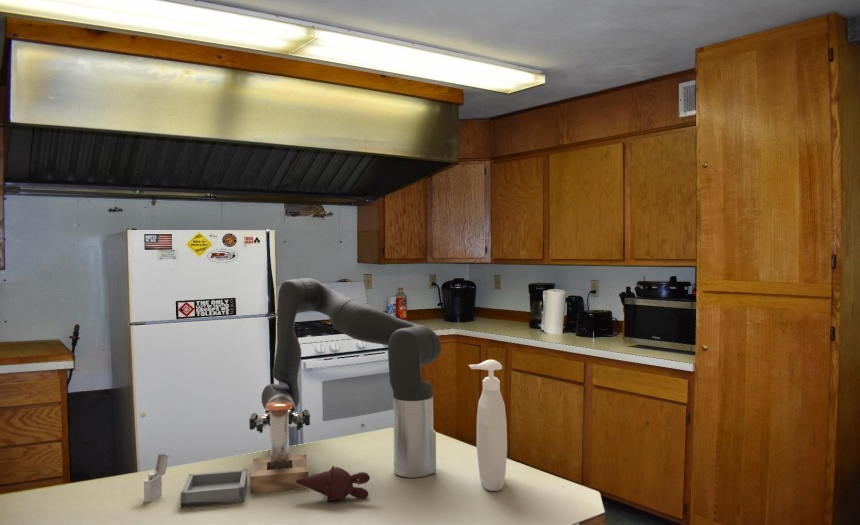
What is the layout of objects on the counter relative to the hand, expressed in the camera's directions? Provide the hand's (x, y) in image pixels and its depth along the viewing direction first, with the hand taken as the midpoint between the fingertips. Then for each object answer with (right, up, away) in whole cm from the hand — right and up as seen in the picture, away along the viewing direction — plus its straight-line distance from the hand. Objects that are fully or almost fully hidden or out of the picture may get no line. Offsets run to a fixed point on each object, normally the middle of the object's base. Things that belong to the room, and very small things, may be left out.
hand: (279, 427), depth 142 cm
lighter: (-22, -10, -15) cm, 29 cm away
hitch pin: (+2, -10, -7) cm, 12 cm away
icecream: (+15, -10, -18) cm, 26 cm away
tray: (-10, -10, -15) cm, 21 cm away
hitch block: (+2, -10, -7) cm, 12 cm away
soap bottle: (+48, -10, -10) cm, 50 cm away
